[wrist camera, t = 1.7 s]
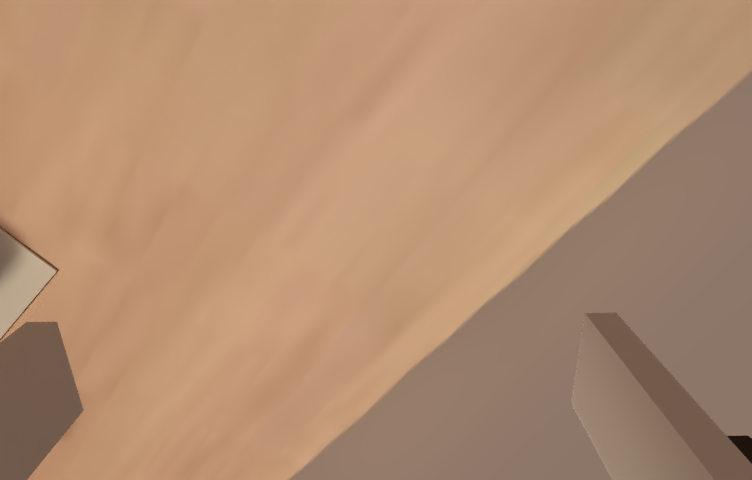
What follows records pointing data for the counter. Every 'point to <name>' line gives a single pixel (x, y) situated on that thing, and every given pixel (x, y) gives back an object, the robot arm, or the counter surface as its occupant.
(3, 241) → the tile
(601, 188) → the counter surface
